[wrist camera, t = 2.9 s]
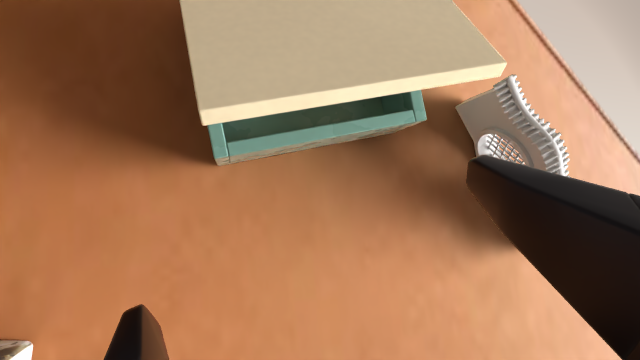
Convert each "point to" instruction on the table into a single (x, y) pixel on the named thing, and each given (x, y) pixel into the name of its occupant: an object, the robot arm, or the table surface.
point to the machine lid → (325, 52)
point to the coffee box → (15, 350)
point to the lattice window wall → (512, 128)
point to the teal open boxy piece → (314, 127)
